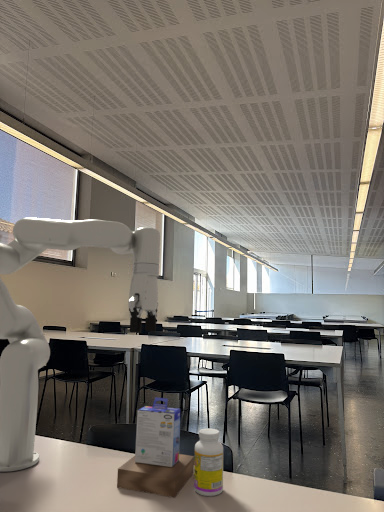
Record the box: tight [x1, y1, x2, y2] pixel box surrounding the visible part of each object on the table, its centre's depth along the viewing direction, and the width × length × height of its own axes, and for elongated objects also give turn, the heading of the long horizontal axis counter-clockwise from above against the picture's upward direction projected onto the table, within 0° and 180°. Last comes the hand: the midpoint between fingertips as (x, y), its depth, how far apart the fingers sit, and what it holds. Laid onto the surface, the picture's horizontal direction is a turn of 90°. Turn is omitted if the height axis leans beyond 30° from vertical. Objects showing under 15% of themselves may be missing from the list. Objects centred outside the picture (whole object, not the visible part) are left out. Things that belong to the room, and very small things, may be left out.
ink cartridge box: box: [134, 397, 181, 467], centre depth 95 cm, size 10×6×14 cm, turn 75°
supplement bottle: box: [193, 428, 224, 497], centre depth 89 cm, size 7×7×13 cm
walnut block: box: [116, 453, 195, 498], centre depth 93 cm, size 14×14×4 cm
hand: (143, 331), depth 108 cm, fingers open, 9 cm apart
